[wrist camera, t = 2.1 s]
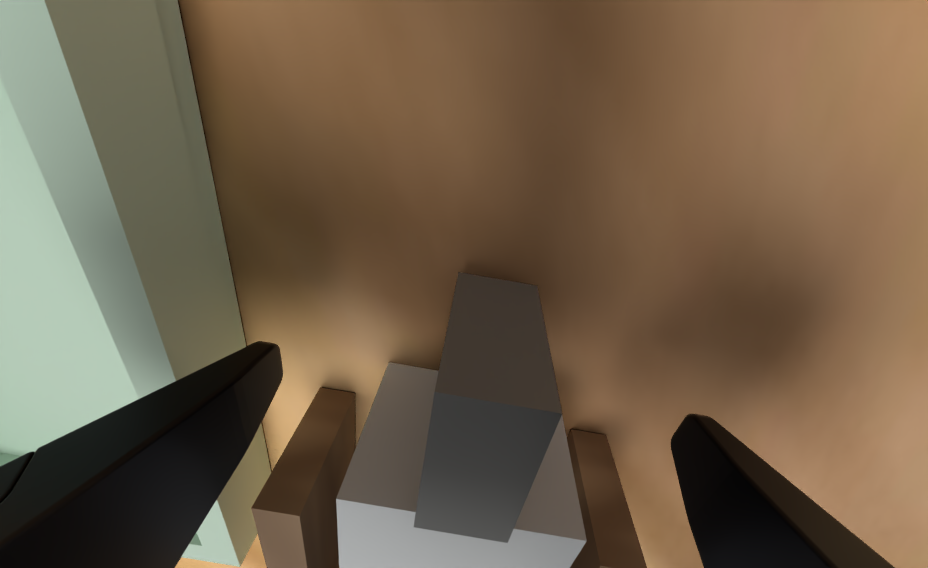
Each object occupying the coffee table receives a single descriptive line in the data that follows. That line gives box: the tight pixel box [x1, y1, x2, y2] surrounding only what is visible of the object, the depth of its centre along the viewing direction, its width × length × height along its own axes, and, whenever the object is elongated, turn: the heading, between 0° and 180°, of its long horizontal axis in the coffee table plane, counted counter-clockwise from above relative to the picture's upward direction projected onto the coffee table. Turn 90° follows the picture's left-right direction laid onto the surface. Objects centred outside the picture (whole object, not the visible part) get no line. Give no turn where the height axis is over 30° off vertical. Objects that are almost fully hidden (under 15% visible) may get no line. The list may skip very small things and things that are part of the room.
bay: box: [251, 387, 647, 568], centre depth 13 cm, size 10×8×4 cm
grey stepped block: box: [336, 272, 587, 568], centre depth 11 cm, size 6×12×5 cm, turn 171°
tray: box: [0, 0, 271, 567], centre depth 10 cm, size 12×18×3 cm
